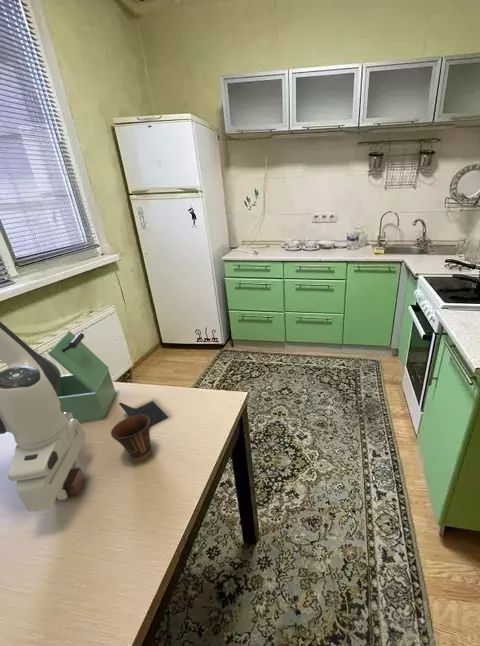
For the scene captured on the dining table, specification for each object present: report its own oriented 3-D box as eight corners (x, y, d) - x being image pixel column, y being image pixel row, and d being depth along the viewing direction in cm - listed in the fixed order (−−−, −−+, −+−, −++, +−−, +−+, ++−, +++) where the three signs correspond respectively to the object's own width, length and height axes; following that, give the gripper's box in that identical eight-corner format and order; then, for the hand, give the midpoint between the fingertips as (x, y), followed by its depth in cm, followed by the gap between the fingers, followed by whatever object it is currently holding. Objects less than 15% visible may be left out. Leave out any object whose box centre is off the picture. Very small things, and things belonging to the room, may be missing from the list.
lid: (47, 353, 82) (63, 343, 82) (67, 332, 93) (81, 323, 93) (93, 393, 90) (108, 383, 89) (106, 369, 101) (120, 360, 100)
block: (57, 501, 71) (50, 487, 69) (65, 484, 75) (59, 471, 73) (79, 497, 72) (72, 483, 70) (86, 480, 76) (80, 467, 74)
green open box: (50, 428, 92) (37, 401, 87) (67, 401, 103) (57, 375, 98) (105, 420, 94) (95, 393, 90) (116, 395, 105) (108, 369, 101)
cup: (136, 438, 87) (126, 409, 83) (165, 444, 85) (157, 414, 81) (112, 464, 80) (101, 433, 75) (143, 471, 78) (133, 440, 73)
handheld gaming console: (174, 410, 95) (146, 398, 87) (161, 434, 92) (132, 423, 85) (153, 401, 102) (126, 389, 94) (140, 422, 99) (112, 412, 92)
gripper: (52, 409, 75) (72, 453, 81) (1, 483, 57) (31, 532, 63) (82, 405, 76) (99, 448, 82) (40, 476, 58) (66, 525, 64)
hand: (69, 485), depth 72 cm, fingers closed on block, 4 cm apart
